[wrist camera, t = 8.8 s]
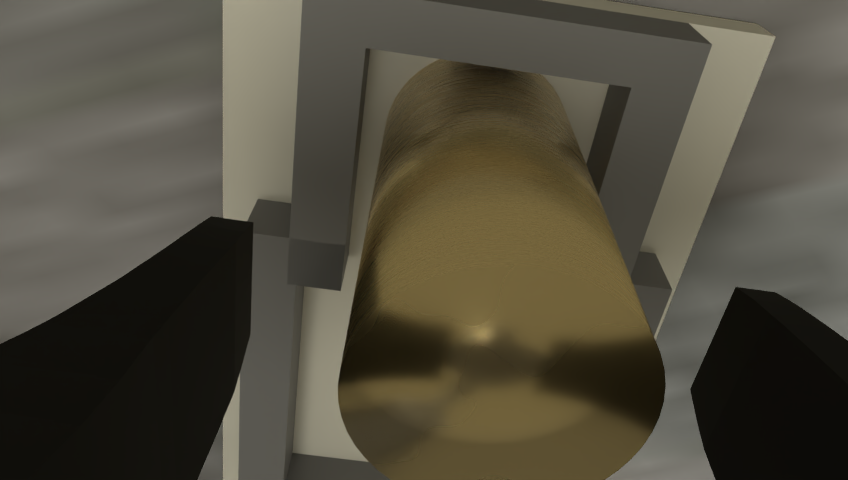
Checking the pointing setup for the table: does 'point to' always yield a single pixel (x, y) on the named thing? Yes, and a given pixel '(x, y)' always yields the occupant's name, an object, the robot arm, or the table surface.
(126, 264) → the table surface
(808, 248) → the table surface
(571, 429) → the brass peg
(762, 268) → the table surface
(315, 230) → the keyhole plate
